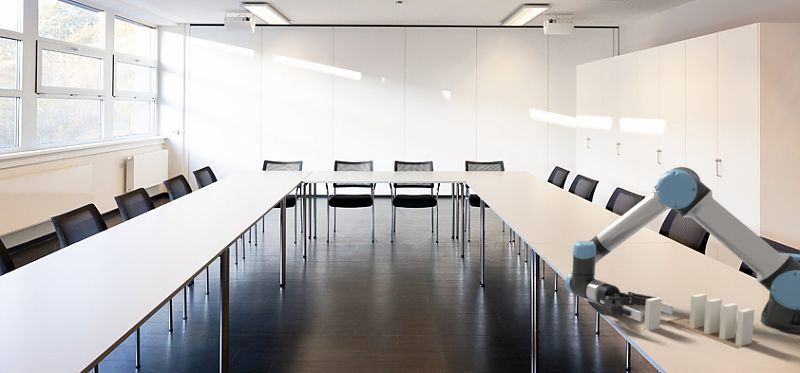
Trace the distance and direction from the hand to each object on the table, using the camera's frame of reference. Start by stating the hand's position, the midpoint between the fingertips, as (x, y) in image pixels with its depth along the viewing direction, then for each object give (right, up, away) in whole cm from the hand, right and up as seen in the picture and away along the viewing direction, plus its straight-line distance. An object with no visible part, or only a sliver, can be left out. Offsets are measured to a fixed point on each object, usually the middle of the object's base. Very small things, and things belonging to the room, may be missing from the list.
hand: (656, 313), depth 178 cm
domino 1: (-1, -6, +2) cm, 6 cm away
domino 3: (+16, -5, -1) cm, 17 cm away
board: (+16, -6, 0) cm, 17 cm away
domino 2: (+14, -5, +4) cm, 15 cm away
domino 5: (+21, -7, -9) cm, 24 cm away
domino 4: (+19, -6, -5) cm, 20 cm away
